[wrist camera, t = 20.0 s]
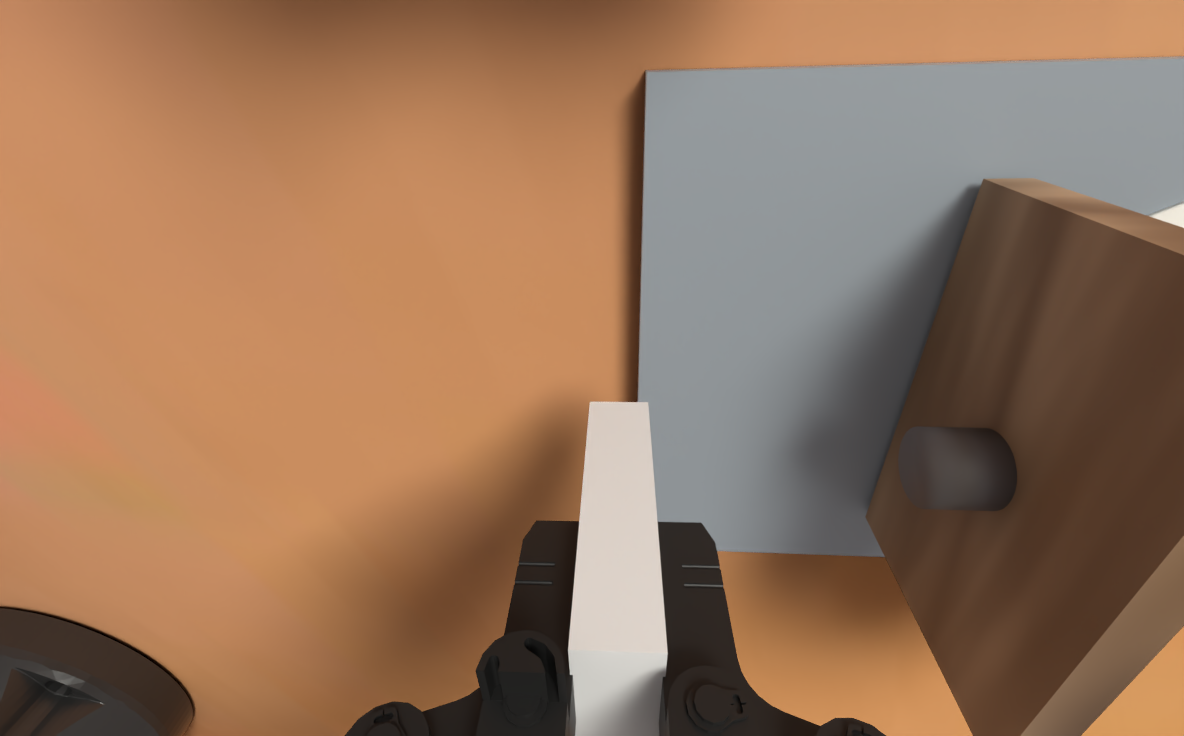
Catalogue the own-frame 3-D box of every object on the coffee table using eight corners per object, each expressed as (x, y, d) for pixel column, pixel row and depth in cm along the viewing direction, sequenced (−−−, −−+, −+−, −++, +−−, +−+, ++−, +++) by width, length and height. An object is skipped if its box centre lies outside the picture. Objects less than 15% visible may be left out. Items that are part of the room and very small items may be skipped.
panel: (820, 515, 20) (921, 767, 13) (916, 179, 13) (1215, 320, 6) (899, 518, 19) (1043, 774, 13) (1033, 178, 13) (1467, 322, 6)
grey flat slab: (634, 525, 23) (634, 591, 20) (645, 70, 14) (648, 76, 11) (1242, 545, 21) (1333, 620, 18) (1701, 42, 12) (2013, 43, 9)
